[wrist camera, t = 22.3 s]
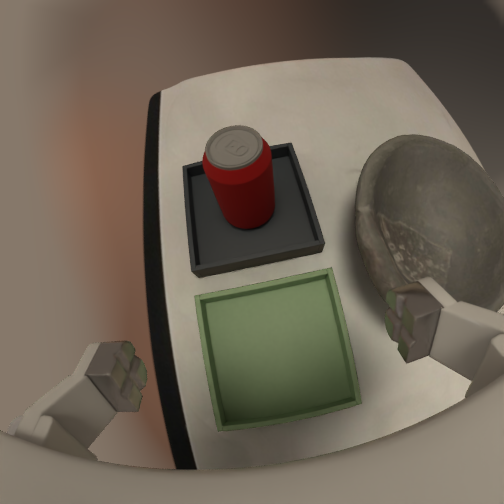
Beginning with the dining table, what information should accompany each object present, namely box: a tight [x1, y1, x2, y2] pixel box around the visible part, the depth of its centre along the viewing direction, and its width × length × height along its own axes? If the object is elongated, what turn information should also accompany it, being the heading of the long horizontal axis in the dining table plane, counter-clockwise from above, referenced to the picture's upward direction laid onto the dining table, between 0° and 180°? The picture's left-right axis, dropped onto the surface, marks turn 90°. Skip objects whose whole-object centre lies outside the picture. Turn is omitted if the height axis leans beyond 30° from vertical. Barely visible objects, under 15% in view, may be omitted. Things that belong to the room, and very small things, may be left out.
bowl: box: [355, 135, 504, 312], centre depth 27 cm, size 23×22×10 cm
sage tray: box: [194, 268, 362, 432], centre depth 28 cm, size 15×15×3 cm
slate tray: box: [183, 143, 325, 278], centre depth 35 cm, size 15×15×3 cm
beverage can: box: [202, 125, 275, 229], centre depth 30 cm, size 7×7×12 cm
